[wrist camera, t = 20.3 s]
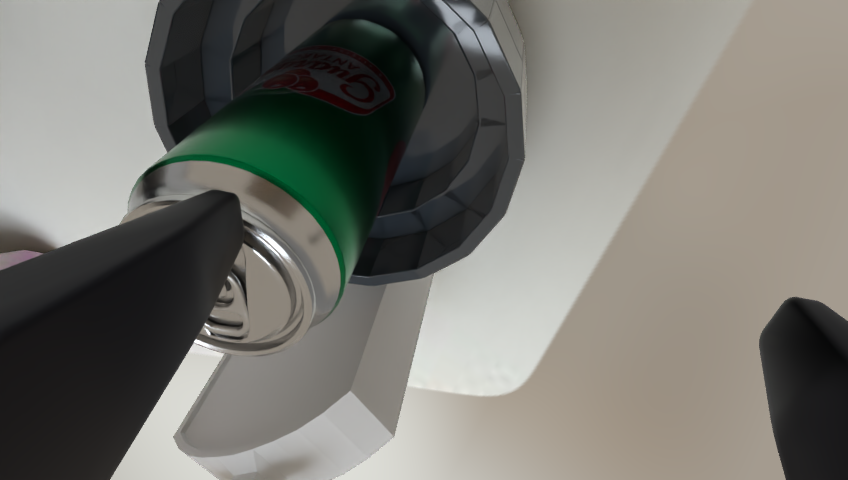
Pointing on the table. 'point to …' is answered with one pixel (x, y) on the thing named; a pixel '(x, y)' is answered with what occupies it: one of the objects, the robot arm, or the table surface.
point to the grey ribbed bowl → (433, 136)
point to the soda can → (297, 178)
